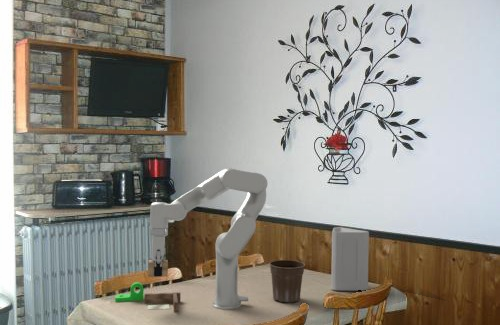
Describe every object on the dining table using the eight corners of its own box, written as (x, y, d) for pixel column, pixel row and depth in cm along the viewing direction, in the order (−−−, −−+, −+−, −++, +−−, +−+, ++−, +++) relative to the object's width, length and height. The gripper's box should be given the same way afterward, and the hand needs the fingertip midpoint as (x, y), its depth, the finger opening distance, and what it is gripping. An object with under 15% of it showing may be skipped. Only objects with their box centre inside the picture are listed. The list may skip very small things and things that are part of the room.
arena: (180, 301, 240) (180, 292, 240) (182, 312, 224) (182, 302, 224) (144, 302, 237) (144, 293, 237) (143, 313, 222) (143, 303, 222)
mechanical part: (142, 297, 246) (142, 279, 246) (143, 301, 241) (143, 283, 240) (115, 299, 243) (115, 281, 243) (115, 302, 237) (115, 284, 237)
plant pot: (308, 303, 239) (309, 267, 238) (272, 304, 236) (273, 267, 236) (299, 293, 255) (300, 259, 254) (265, 294, 252) (266, 260, 252)
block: (148, 274, 232) (148, 260, 232) (167, 273, 233) (167, 259, 233) (148, 276, 227) (148, 262, 227) (167, 276, 228) (167, 262, 228)
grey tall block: (318, 285, 270) (319, 229, 269) (338, 281, 280) (339, 226, 279) (348, 294, 255) (349, 234, 255) (368, 289, 265) (369, 231, 264)
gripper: (149, 228, 237) (149, 270, 238) (149, 234, 221) (148, 279, 221) (167, 228, 239) (166, 270, 239) (168, 234, 222) (167, 279, 222)
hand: (157, 274), depth 230 cm, fingers closed on block, 5 cm apart
